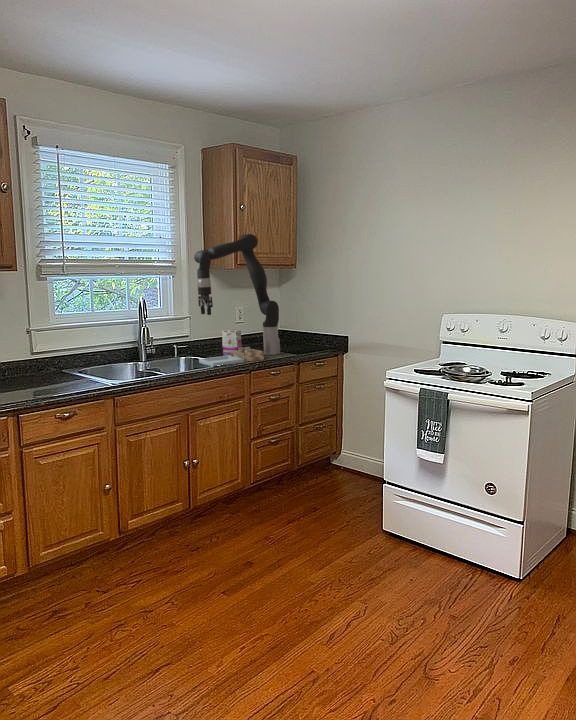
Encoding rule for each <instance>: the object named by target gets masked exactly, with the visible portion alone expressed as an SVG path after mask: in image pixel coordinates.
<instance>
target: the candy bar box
mask: <svg viewBox="0 0 576 720" xmlns="http://www.w3.org/2000/svg"><path fill="white" fill-rule="evenodd" d="M221 339H222V340H221V341H222V343H221V345H222V356H228V355H229V356H233V357H234V351H240V350H243V349H242V348H243V346H242V331H241V330H234V329H233V330H227V329H226V330H222V331H221Z"/></svg>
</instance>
